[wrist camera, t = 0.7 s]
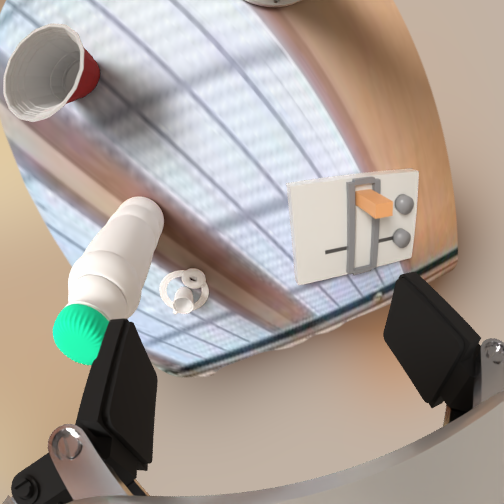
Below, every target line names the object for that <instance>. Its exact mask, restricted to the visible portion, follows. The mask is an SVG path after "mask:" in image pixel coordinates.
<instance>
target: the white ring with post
mask: <svg viewBox="0 0 504 504" xmlns="http://www.w3.org/2000/svg"><path fill="white" fill-rule="evenodd" d="M180 276H182V282H183V283H184V285H186V286H187V287H185V286H184V287H180V288H179V289H178V290H177V292H176V294H175V297H174V301H173V302H172V301H171V300H170V299H169V297H168V295H167V292H166V288H167V285H168V283H169V282H170V281H171V280H172V279H174V278H176V277H180ZM190 278H192V279H194V280H196V281H192V280H190ZM205 281H206V278H205V275H204V273H203V272H202V271H200V270H199V269H196V268H190V269H187V270H179V271H174V272H172V273H170V274H168V275H167V276H166V277H164V279H163V280H162V282H161V284H160V295H161V298H162V300H163V301H164V302H165V303H166V304H167V305H168V306H169V307H171V308H173V313H174V314H177V313H181V314H187V313H190V312H191V311H193V310H196V309H198V308H200V307H201V306H202V305H203V304H204V303H205V302H206V300H207V298H208V295H209V289H208V285H207V283H206V282H205ZM188 287H189V288H192V289H196V288H200V287H201V290H202V294H201V297H200V299H199V300H198V301H197V302H196V303H193V294H192V291H191V290H190V289H189V288H188Z"/></svg>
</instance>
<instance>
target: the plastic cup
mask: <svg viewBox="0 0 504 504" xmlns="http://www.w3.org/2000/svg"><path fill="white" fill-rule="evenodd" d="M99 78H100V69H99V67H98V64H97V62H96V61H95V60H94V59H93V57H92V56H91V55H90V54H89V53H88V51H87V50H86V49H85V48H84V47H83V45H82V43H81V40H80V37H79V35H78V33H76V32H75V31H74V30H72V29H71V28H70V27H68V26H67V25H63V24H48V25H45V26H43V27H40V28H38V29H35V30H34V31H32V32H31V33H30V34H29V35H28V36H27V37H25V38H24V39H23V40H22V41H21V42H20V43H19V44H18V46H17V47H16V49H15V51H14V52H13V54H12V55H11V57H10V58H9V61H8V64H7V67H6V71H5V74H4V97H5V100H6V102H7V105H8V108H9V110H10V111H11V112H13V113H14V114H15V115H16V116H17V117H18V118H19V119H22V120H26V121H31V122H35V121H39V120H42V119H46V118H49V117H50V116H52V115H53V114H54V113H55V112H57V111H58V110H59V109H61V108H62V107H63V106H65V104H67V103H69V102H72V101H75V100H77V99H79V98H82V97H84V96H86V95H87V94H89V93H90V92H92V90H93V89H94V88H95V87H96V85H97V83H98V80H99Z"/></svg>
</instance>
